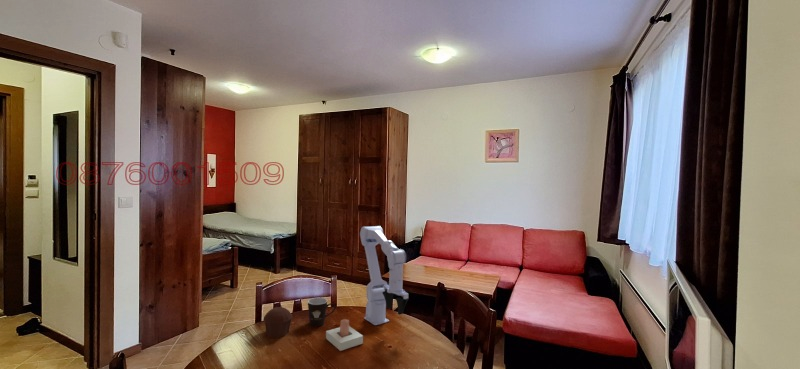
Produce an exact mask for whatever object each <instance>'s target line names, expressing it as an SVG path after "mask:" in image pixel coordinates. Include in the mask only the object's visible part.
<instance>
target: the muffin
mask: <svg viewBox="0 0 800 369" xmlns="http://www.w3.org/2000/svg"><path fill="white" fill-rule="evenodd" d="M292 318H293V314H292V312H291V311H290V310H289V309H287V308H286V307H283V306H276V307H273V308H271V309H270V310H268V311H267V312H266V313H265V315H264V317H263V322H264V324H265V325H264V326H265V333H266V336H267V337H269V338H271V337H272V338H281V337H284V336H286V335H287V334H289V331H290V329H291V328H290V327H291V321H292Z"/></svg>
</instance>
